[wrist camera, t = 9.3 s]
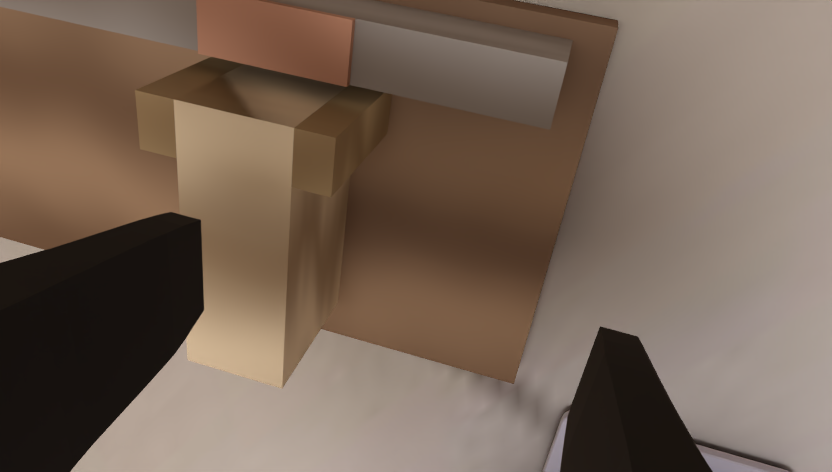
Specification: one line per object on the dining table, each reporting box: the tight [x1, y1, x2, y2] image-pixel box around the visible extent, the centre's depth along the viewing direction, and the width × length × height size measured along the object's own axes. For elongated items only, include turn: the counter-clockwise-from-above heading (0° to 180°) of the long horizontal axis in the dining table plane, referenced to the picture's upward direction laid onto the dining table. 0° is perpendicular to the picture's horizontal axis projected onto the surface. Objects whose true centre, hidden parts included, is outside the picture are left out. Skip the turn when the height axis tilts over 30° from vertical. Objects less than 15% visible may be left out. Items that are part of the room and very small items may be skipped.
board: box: [0, 0, 618, 384], centre depth 20 cm, size 12×28×4 cm, turn 82°
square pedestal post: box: [135, 57, 392, 388], centre depth 19 cm, size 8×5×4 cm, turn 172°
